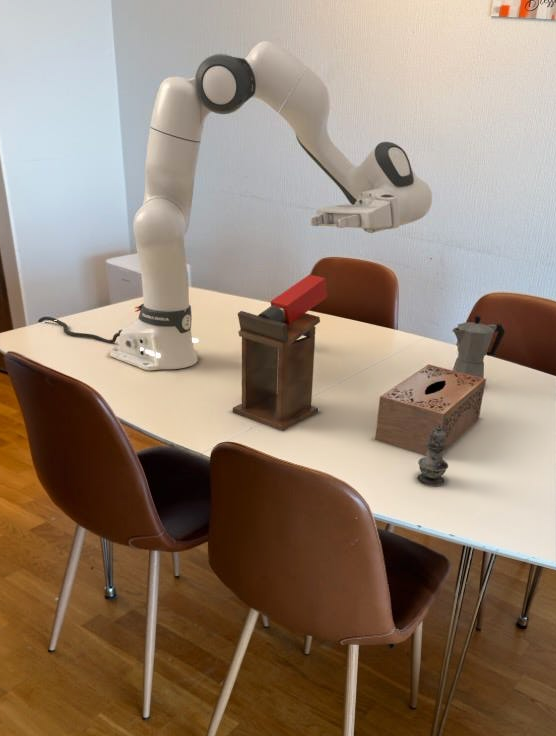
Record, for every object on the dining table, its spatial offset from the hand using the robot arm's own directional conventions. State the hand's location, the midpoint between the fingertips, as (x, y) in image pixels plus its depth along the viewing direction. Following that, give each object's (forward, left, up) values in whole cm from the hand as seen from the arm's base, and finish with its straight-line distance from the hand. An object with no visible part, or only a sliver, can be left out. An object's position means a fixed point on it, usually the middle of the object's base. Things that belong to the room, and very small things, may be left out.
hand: (324, 222), depth 155 cm
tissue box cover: (+31, -5, -39) cm, 50 cm away
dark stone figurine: (+39, -28, -39) cm, 62 cm away
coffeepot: (+31, +29, -39) cm, 58 cm away
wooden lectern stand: (-2, -17, -39) cm, 42 cm away
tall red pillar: (-1, -12, -20) cm, 23 cm away
